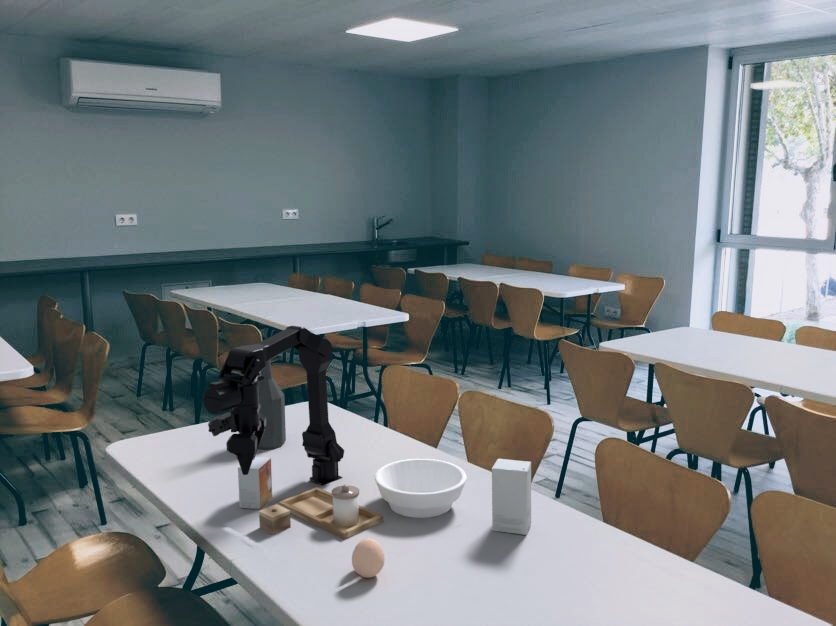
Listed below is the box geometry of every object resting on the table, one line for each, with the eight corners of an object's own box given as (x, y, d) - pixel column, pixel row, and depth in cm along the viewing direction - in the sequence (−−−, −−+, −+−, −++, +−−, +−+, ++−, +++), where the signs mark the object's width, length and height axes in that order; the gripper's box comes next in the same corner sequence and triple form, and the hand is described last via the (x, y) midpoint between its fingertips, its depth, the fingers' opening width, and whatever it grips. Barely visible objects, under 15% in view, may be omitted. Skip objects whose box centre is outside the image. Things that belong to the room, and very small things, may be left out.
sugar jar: (347, 512, 177) (346, 477, 175) (365, 521, 172) (364, 484, 171) (326, 521, 172) (325, 485, 170) (344, 530, 168) (344, 493, 166)
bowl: (479, 497, 187) (479, 466, 186) (444, 535, 167) (445, 501, 166) (399, 482, 197) (399, 452, 195) (358, 517, 176) (357, 484, 175)
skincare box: (531, 524, 172) (533, 461, 170) (526, 537, 166) (528, 471, 164) (496, 519, 175) (497, 456, 172) (490, 531, 169) (491, 467, 166)
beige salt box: (277, 524, 173) (276, 503, 172) (290, 530, 170) (290, 509, 169) (259, 531, 169) (259, 510, 168) (273, 538, 166) (272, 516, 165)
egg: (358, 587, 146) (357, 550, 144) (347, 571, 152) (347, 535, 150) (389, 580, 148) (389, 543, 147) (377, 564, 154) (377, 529, 153)
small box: (260, 510, 180) (258, 469, 178) (238, 508, 181) (237, 467, 179) (273, 496, 188) (271, 457, 186) (252, 494, 189) (250, 455, 187)
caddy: (317, 495, 188) (317, 487, 188) (383, 524, 172) (383, 515, 172) (279, 510, 180) (278, 501, 179) (344, 542, 164) (344, 533, 163)
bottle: (259, 437, 231) (255, 344, 226) (289, 438, 230) (286, 345, 224) (247, 449, 221) (243, 351, 216) (278, 450, 220) (275, 352, 214)
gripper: (218, 391, 178) (221, 453, 181) (201, 415, 159) (204, 483, 162) (265, 390, 178) (267, 452, 181) (253, 414, 160) (256, 482, 163)
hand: (248, 466), depth 172 cm, fingers open, 9 cm apart
